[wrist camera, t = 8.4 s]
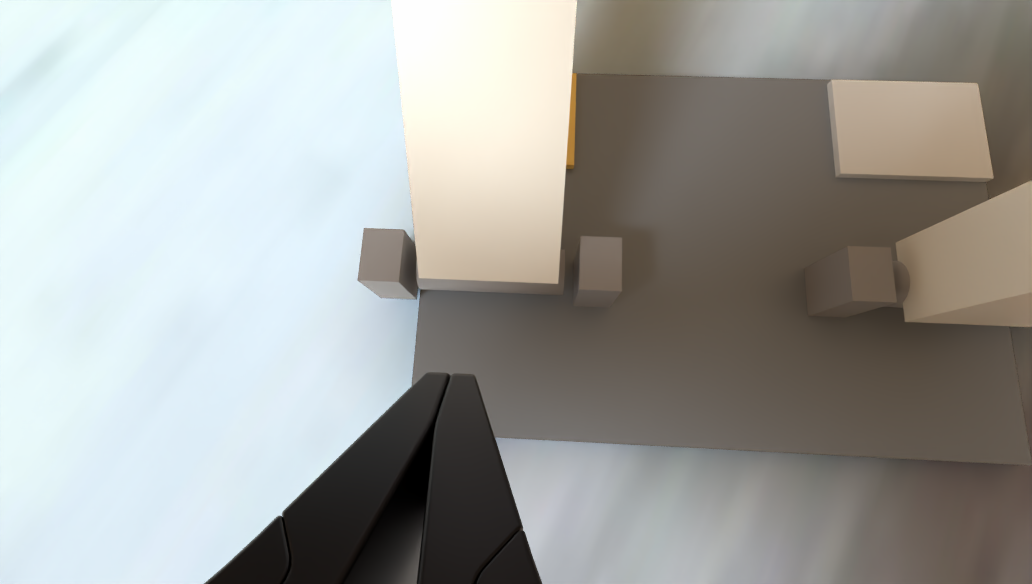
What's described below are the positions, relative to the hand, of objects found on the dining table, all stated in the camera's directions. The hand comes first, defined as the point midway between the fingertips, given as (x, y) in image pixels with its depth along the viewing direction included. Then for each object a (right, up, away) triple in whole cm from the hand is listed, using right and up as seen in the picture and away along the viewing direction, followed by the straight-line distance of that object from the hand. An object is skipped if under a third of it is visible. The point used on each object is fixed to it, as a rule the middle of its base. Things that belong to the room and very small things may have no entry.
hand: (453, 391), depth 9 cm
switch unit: (+7, +3, +9) cm, 12 cm away
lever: (0, +2, +7) cm, 7 cm away
